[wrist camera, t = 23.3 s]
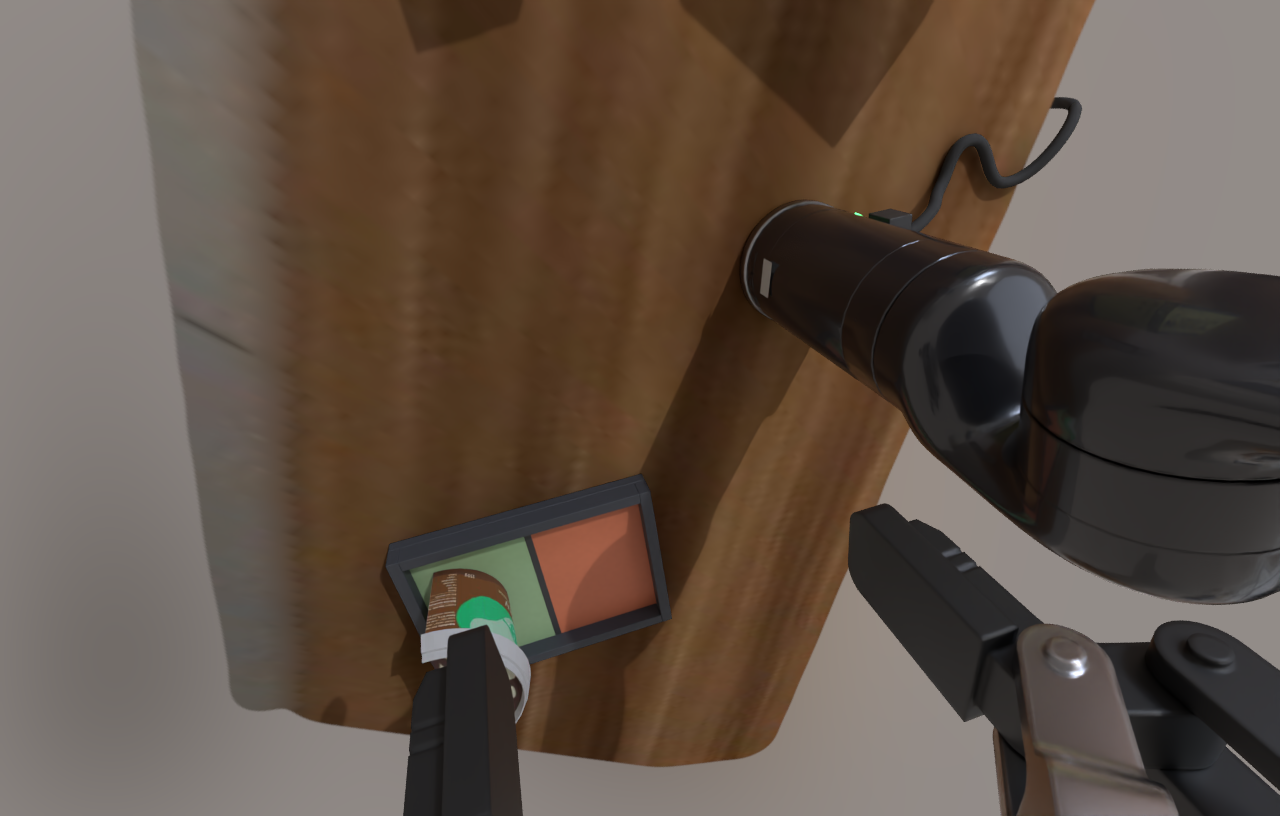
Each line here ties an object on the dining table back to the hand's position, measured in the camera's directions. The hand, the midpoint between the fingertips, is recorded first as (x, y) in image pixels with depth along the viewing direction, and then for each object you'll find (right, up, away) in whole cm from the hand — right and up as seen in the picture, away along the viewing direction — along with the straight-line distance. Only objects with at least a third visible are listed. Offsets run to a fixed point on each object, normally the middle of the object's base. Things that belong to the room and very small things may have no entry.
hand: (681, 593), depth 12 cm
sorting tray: (-10, -11, +42) cm, 44 cm away
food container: (-15, -13, +40) cm, 45 cm away
